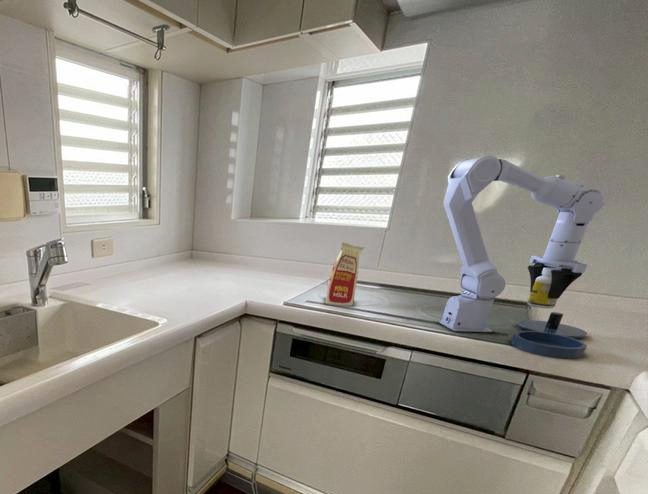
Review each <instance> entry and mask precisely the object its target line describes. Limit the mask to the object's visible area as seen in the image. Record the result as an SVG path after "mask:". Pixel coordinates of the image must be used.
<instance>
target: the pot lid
mask: <svg viewBox="0 0 648 494" xmlns="http://www.w3.org/2000/svg"><path fill="white" fill-rule="evenodd" d="M563 316H564V314H563V313H562V312H556V311H552V312H550V314H549V316H548V319H547V321H546V320H545V321H544V320H535V319H534V320H532V319H529V320H521V321H518V322H517V326H518V327H519V328H521V329H523V330H524V331H538V332H547V333H553V334H558V335H563V336H567V337H570V338H574V339H580V338H586V337H587V335H588V332H587V331H586V330H584V329H582V328H579V327H576V326H572V325H568V324H565V323H561V322H562V319H563Z"/></svg>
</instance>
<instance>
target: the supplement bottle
mask: <svg viewBox="0 0 648 494" xmlns="http://www.w3.org/2000/svg"><path fill="white" fill-rule="evenodd" d="M551 270H561V269H559V268H543V271H542V276H539V277H537V278H536V280H535V283H534V286H533V288H532V291H531V293H530V295H529V297H528V300H527V303H526V304H527V305H528V306H530V307H533V308H537V309H553V308H555V307H556V304H557V301H558V299H551V298H548V293H549V290H550V287H551V281H552V275H551Z"/></svg>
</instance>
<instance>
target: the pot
mask: <svg viewBox="0 0 648 494" xmlns="http://www.w3.org/2000/svg"><path fill="white" fill-rule="evenodd" d="M511 345H512V346H513V347H515V348H517V349H520V350H522V351H524V352H527V353H531V354H534V355H540V356H544V357H550V358H556V359H569V360H570V359H572V360H573V359H580V358H582V357H583V355H584V354H585V352H586V351H587V350H586V349H587V348H588V344H587V343H585V342H584V341H581V340H580V339H579V340H578V338H570V337H567V336H563V335H558V334H553V333H547V332H538V331H528V330H520V331H516V332H514V334H513V336H512V338H511Z"/></svg>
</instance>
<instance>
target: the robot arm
mask: <svg viewBox="0 0 648 494" xmlns="http://www.w3.org/2000/svg"><path fill="white" fill-rule="evenodd" d="M447 181H448V184H447V188H446V191H445V196H444V199H443V207H444V210H445V213H446V217H447V220H448V222H449V226H450V229H451V232H452V235H453V239H454V241H455V245H456V248H457V251H458V255H459V257H460V260H461V263H462V266H461V268H460V269H459V273H460V279H459V286H460V288H461V289H462V290H461V293H460V295H454V296H451V297H449V298H448V300H447V302H446V304H445V306H444V311H443V314H442V317H441V320H440V321H439V322H438V323H439V324H440V325H442V326H444V327H446V328H448V329H450V330H452V331H454V332H468V333H469V332H471V333H492V332H493V330H492V329H490V328H488V327H486V325H487V322H488V320H489V316H490V313H491V310H492V307H493V304H494V301H495V300H496V298H497V297H498V296H500V295H501V294H502V293H503V292H504V291H505V288H506V280H505V278H504V277H503V276H502V275H500V274H499V272H498V269H497V267H496V266H495V265H494V264H493V263H492V262H491V260H490V259H489V255H488V252H487V249H486V245H485V242H484V239H483V236H482V232H481V229H480V226H479V222H478V219H477V216H476V213H475V209H474V206H473V202H474V200H475V199H476V197H477V196H478V195H479V193H481V192H482V191H483V190H484V189H486V188H487V187H488V186H489V185H490V184H492V182H499V181H500V182H503V183H506V184H508V185H511V186H514V187H518V188H520V189H523V190H525V191H527V192H530V197H531V199H532V200H534V201H536V202H538V203H541V204H543V205H546V206H548V207H551V208H554V209H555V210H556V212H557V213H558V215H557V219H556V222H555V225H554V227H553V230H552V232H551V236H550V238H549V240H548V243H547V246H546V249H545V251H544V254H543V255H531V256H530V259H529V263H530V264H529V263H528V264H529V265H528V266H527V270H528V273H529V279H530V286H529V287H530V289H529V291H530V294H531V291H532V288H533V286H534V283H535V280H536V278H537V277H539V276H542V271H543V268H559V269H561V270H551V275H552V281H551V287H550V290H549V293H548V298H551V299H557V300H559V299H560V297H561V296H562V295H563V294H564V292H565V291H566V290H567V289H568V287H570V286H571V284H572V283H574V282H575V281H576V280H577V279H578V278H580V277H581V276H583V274H584V273H585V272H586V270H587V267H588V264H586V263H582V262H579V261H578V259H575V258H576V257H577V254H578V252H579V249H580V246H581V244H582V242H583V239H584V238H585V237H584V236H585V235H586V231H587V230H588V227H589V225H590V222H591V221H592V220H593V218H594V216H595V215H596V214H597V213H598V212H599V211H601V209H603V207H604V206H605V204H606V201H604V196H603V193H602V192H601V191H600V190H598V189H585V185H584V184H582V183H574V182H571V181H569V180H566V176H565V175H563V174H556V175H549V176H546V177H542V176H539V175H537V174H535V173H534V172H531V171H529V170H527V169H525V168H523V167H520V166H519V165H516V164H515V163H512V162H510V161H509V160H506V159H503V158H497V157H495V156H493V155H486V156H485V155H484V156H482V157H475V158H465V159H463V160H461V161H459V162H458V163H457V164H456V165H455V166H454V167H453V168H452V170H451V171H450V173H449V175H448V176H447ZM531 264H532V265H531Z"/></svg>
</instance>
